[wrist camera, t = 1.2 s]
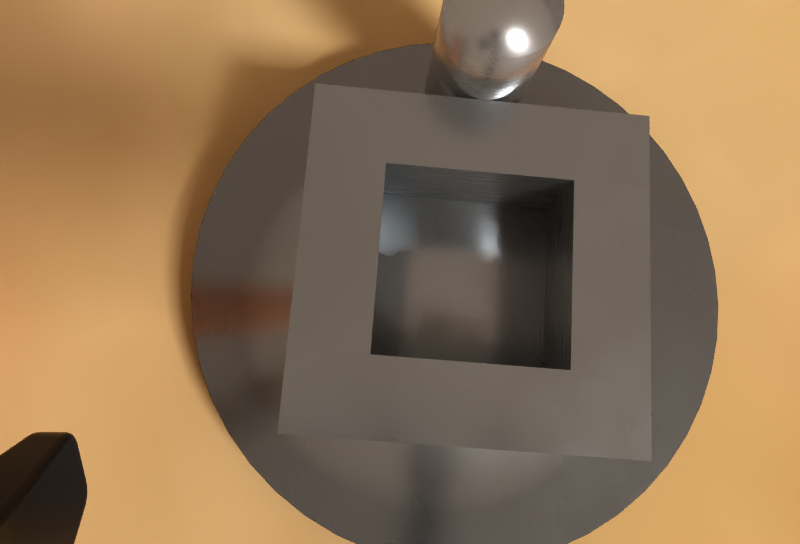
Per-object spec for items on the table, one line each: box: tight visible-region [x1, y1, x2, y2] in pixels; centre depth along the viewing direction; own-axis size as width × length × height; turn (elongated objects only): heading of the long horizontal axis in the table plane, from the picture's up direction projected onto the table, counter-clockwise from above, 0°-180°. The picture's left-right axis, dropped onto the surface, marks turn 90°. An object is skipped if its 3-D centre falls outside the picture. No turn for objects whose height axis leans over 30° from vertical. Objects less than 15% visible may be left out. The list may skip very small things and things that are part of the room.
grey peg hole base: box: [191, 0, 718, 544], centre depth 20 cm, size 17×17×6 cm
